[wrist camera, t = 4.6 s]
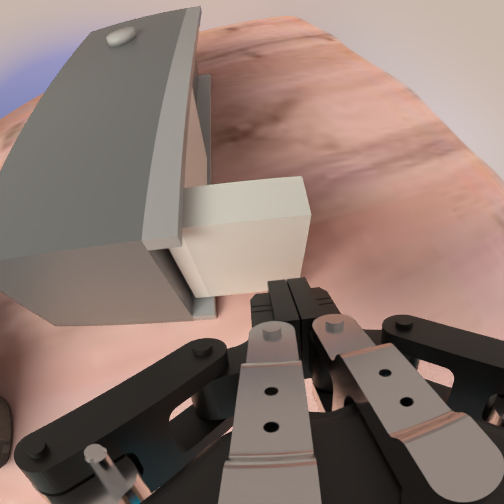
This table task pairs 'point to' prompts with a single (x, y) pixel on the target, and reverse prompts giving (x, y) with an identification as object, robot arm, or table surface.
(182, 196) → the grey box
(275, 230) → the side door
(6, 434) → the camera
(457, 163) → the table surface
